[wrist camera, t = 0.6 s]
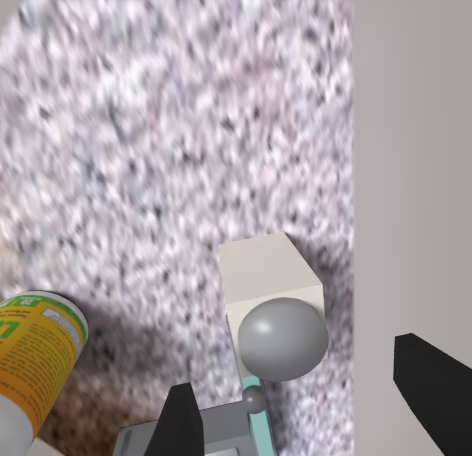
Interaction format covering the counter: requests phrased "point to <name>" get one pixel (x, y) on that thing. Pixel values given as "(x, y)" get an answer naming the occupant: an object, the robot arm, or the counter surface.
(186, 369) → the counter surface
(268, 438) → the teal long flat bar
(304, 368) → the cream block with knob
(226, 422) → the housing
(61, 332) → the supplement bottle
